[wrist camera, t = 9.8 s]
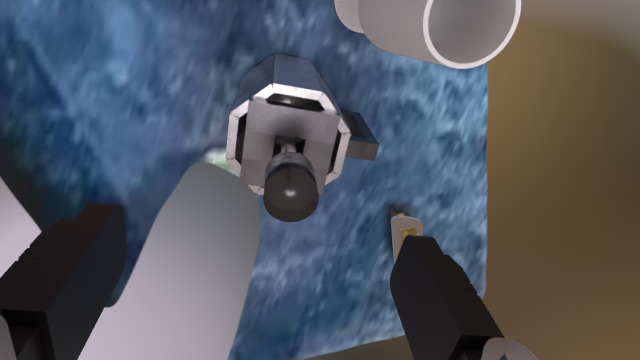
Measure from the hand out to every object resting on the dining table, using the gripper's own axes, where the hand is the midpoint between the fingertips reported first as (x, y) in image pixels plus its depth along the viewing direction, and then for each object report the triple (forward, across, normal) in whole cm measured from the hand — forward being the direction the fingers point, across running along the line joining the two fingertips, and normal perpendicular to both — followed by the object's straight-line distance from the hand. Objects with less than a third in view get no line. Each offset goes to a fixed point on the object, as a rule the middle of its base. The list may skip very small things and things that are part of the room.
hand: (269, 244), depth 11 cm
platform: (+34, -20, +22) cm, 45 cm away
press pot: (+33, -3, +6) cm, 34 cm away
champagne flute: (+34, -8, -6) cm, 35 cm away
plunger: (+29, -2, +6) cm, 30 cm away
